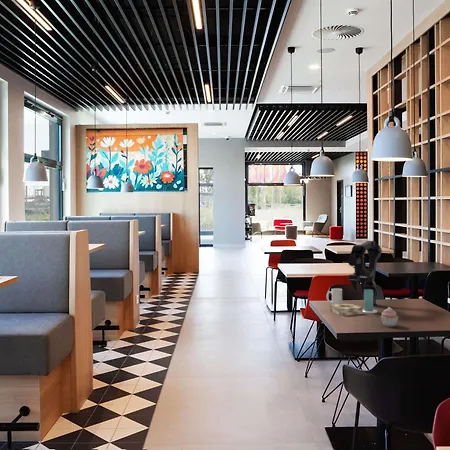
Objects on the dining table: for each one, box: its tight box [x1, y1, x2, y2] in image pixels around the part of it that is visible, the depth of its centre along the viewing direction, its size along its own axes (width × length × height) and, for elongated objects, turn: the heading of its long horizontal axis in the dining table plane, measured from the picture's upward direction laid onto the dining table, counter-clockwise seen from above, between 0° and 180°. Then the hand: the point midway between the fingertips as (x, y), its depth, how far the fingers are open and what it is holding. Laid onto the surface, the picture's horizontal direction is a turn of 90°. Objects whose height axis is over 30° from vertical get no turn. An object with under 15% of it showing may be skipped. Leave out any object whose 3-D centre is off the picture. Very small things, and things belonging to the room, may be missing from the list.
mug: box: [326, 287, 343, 305], centre depth 312 cm, size 10×7×12 cm, turn 73°
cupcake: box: [380, 306, 399, 328], centre depth 258 cm, size 9×9×10 cm
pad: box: [363, 308, 378, 314], centre depth 296 cm, size 10×10×1 cm
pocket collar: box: [329, 303, 364, 317], centre depth 295 cm, size 14×14×4 cm
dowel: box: [363, 289, 374, 311], centre depth 296 cm, size 5×5×12 cm
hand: (359, 289), depth 307 cm, fingers open, 9 cm apart
